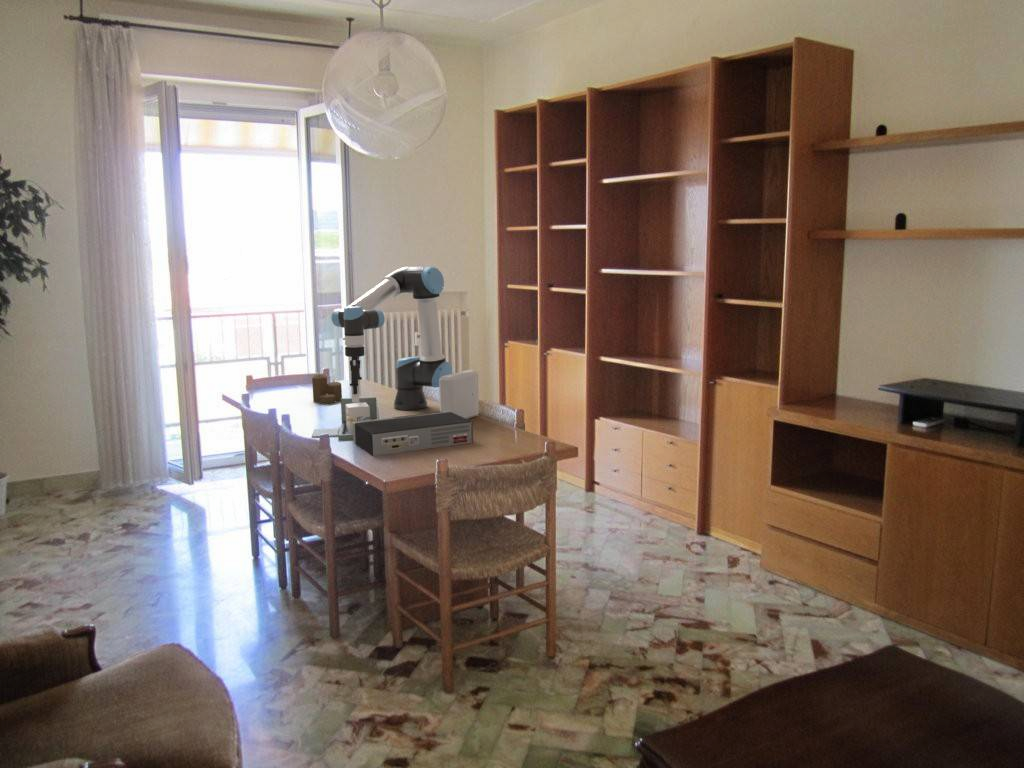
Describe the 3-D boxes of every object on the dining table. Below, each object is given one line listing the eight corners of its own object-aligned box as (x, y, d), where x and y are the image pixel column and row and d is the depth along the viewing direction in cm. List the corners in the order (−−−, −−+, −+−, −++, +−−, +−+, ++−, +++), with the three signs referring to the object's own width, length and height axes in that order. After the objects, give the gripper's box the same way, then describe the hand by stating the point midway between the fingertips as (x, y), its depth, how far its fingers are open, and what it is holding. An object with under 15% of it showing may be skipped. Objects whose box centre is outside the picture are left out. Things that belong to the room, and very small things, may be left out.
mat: (339, 429, 340) (339, 428, 340) (337, 436, 329) (337, 434, 328) (314, 430, 339) (314, 429, 339) (311, 437, 327) (311, 436, 327)
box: (371, 457, 299) (370, 433, 297) (351, 442, 320) (350, 420, 319) (473, 443, 317) (472, 420, 315) (447, 430, 339) (446, 409, 337)
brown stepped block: (305, 403, 396) (304, 372, 394) (320, 398, 409) (319, 367, 406) (331, 404, 392) (329, 373, 389) (345, 399, 405) (344, 368, 402)
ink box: (346, 431, 337) (344, 403, 335) (367, 429, 339) (365, 401, 337) (349, 436, 329) (348, 407, 327) (371, 434, 332) (369, 405, 329)
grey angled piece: (380, 425, 347) (378, 397, 345) (378, 438, 324) (377, 408, 322) (342, 426, 345) (340, 398, 343) (338, 440, 322) (336, 410, 320)
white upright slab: (464, 414, 367) (463, 369, 364) (480, 415, 363) (479, 370, 360) (436, 423, 350) (435, 376, 346) (452, 425, 346) (451, 377, 342)
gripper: (346, 342, 340) (348, 393, 343) (342, 350, 315) (344, 405, 319) (365, 342, 341) (367, 393, 344) (363, 349, 316) (364, 404, 320)
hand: (356, 399), depth 331 cm, fingers open, 13 cm apart
